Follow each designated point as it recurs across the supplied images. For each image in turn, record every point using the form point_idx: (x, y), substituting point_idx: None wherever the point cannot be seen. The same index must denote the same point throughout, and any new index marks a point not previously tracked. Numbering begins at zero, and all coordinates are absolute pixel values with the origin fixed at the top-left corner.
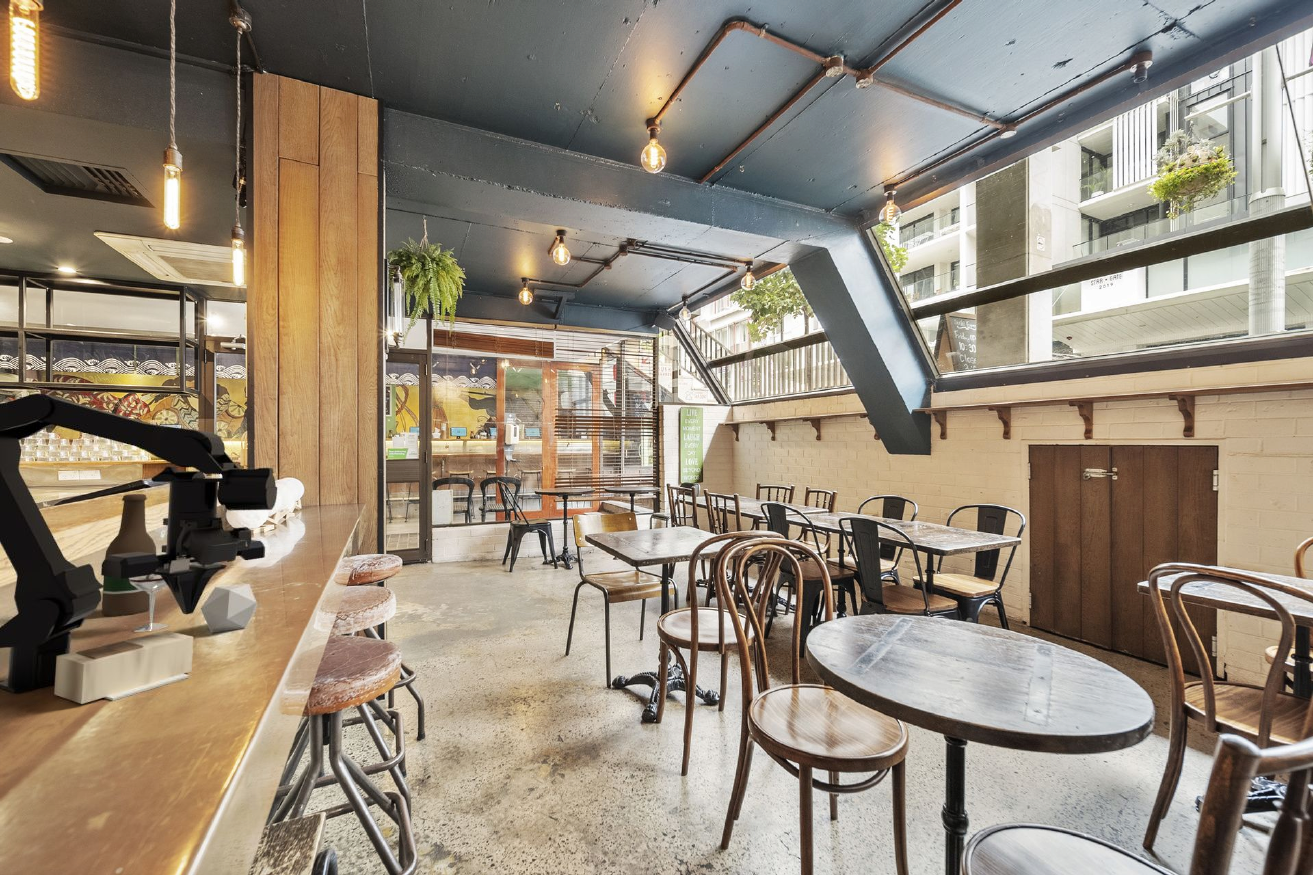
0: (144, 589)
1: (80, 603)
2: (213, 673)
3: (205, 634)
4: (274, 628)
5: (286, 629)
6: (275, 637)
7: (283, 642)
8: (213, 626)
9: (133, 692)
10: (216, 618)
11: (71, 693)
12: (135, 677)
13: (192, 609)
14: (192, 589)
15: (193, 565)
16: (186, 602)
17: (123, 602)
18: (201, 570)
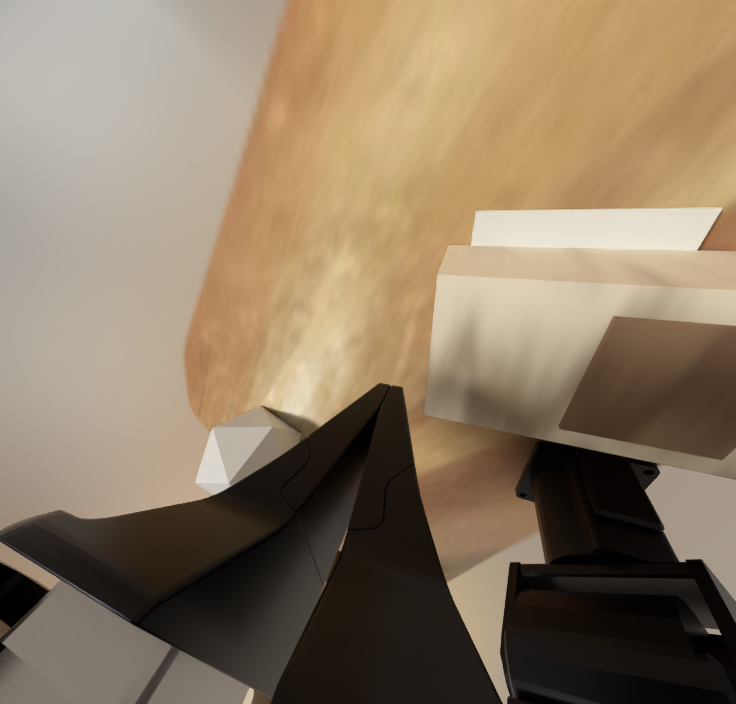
0: (325, 582)
1: (660, 686)
2: (428, 176)
3: (310, 432)
4: (228, 361)
5: (213, 337)
6: (238, 312)
7: (233, 262)
8: (294, 437)
9: (649, 209)
10: (284, 443)
11: None
12: (621, 257)
13: (380, 389)
14: (343, 481)
15: (239, 686)
16: (401, 421)
17: (331, 570)
18: (220, 617)
